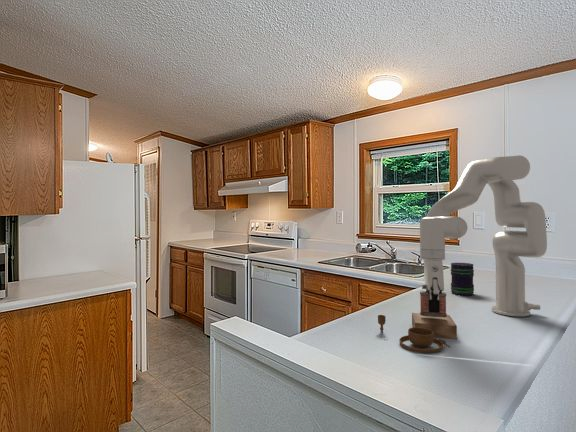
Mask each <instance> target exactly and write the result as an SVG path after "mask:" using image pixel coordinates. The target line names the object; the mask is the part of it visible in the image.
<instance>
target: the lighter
mask: <svg viewBox="0 0 576 432" xmlns="http://www.w3.org/2000/svg"><path fill="white" fill-rule="evenodd" d="M421 288H422V291H421V290H420V291H419V295H420V311H419V313H420V315H422V316H430V317H447V315H448V314H447V293H446V292H444V291H441V290H440V289H439V304H440V312H439V313H433V312H429V300H430V299H429V290H428V289H427V288H426V285H425V284H422V285H421ZM423 290H425V291H423ZM431 290H433V289H432V288H431ZM431 293H433V292H431Z"/></svg>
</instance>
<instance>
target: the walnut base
mask: <svg viewBox="0 0 576 432" xmlns="http://www.w3.org/2000/svg"><path fill="white" fill-rule="evenodd" d="M411 325H412V328H415V327H419V328H426V329H429V330H432V331H433V332H434V338H439V339H454V340H456V339H458V333H457V332H458V330H457V329H458V328H457V327H458V326H457V324H456V323H455V321H454V320H453V318H452V317H451V315H450V314H447V317H430V316H422V315H420V312H411Z"/></svg>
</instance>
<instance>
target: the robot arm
mask: <svg viewBox="0 0 576 432" xmlns="http://www.w3.org/2000/svg"><path fill="white" fill-rule="evenodd" d="M530 172H531V163H530V162H529V159H528V158H527V157H525V156H524V155H509V156H507V155H506V156H495V157H490V158H482V159H481V158H480V159H477V160H473V161H471V162H470V163H468V164H467V166H466V167H465V169H464V170H463V172H462V174H461V176H460V177H459V180H458V181H457V183H456V185H455V186H454V188H453V190H452V191H449V192H448V193H447V194H446V195H444V196H443V197H441V198H440V199H439V200H437V201H436V202H435V203H434V204H433V205H432V206H431V208H430V209H429V211H428V212H427V214H426V216H425V217H422V218H421V219H420V221H419V252H420V253H419V258H420V260H423V274H424V276H423V277H424V279H423V280H424V285H426V288H427V289H428V290H429V299H430V300H429V312H433V313H439V312H440V304H439V289H440V290H441V291H442V292H444V291H445V282H444V281H445V279H444V265H443V264H444V263H443V261H445V260H446V239H450V240H451V239H453V240H454V239H460V238H462V237H464V236H465V235H466V233H467V231H468V223H467V222H466V220H465V219H464V218H462V217H460V216H457V215H455V216H454V215H453V216H452V215H451V214H453V213H455V212H457V211H459V210H462V209H465V208H467V207H470V206H473V205H474V204H476V203H477V201H478V200H479V198H480V197H481V195H482V193H483V191H484V189H485V187H486V186H487V185H488V186H489V187H490V189H491V191H492V194H493V200H494V201H493V205H494V215H495V217H494V218H495V221H496V224H497V225H498V226H499V227H502V228H520V229H523V228H524V229H525V231H523V230H501V231H498V232H496V233H495V234H494V235H493V237H492V241H491V242H492V248H493V251H494V258H495V259H494V260H495V305H492V306H491V311H492V312H494V313H495V314H499V315H503V316H509V317H518V318H519V317H520V318H521V317H529V316H530V315H531V310H534V311H540V310H541V305H540V304H536V303H535V304H534V303H530V302H529V303H528V302H527V301H526V268H525V265H524V262H523V261H522V259H521V258H520V257H522V258H523V257H524V258H542V257H543V256H544V255H546V252H547V249H548V238H547V237H548V235H547V220H546V213H545V210H544V208H543V206H542V205H541V204H540V203H538V202H536V201H535V202H534V201H526V202H525V201H521V196H520V195H521V194H520V188H519V186H518V185H517V184H516V182H515V181H517V180H522V179H524V178H526V177H528V175H529V173H530ZM450 215H451V216H450ZM431 288H432V289H433V290H431ZM431 292H433V293H431Z"/></svg>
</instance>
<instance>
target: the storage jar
mask: <svg viewBox="0 0 576 432" xmlns="http://www.w3.org/2000/svg"><path fill="white" fill-rule="evenodd" d="M450 275H451V282H450V291H451V294H452V295H454V294H455V296H458V295H460V296H459V297H473V296H474V293H475V292H474V291H475V288H474V287H475V285H474V276H475V270H474V263H470V262H451V263H450ZM472 295H473V296H472Z"/></svg>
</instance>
